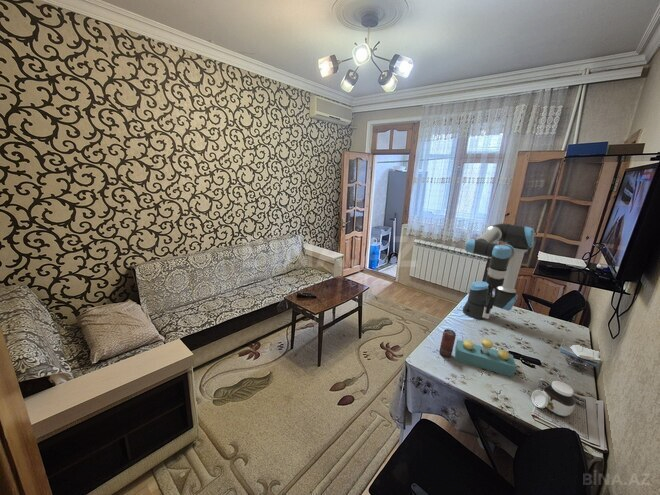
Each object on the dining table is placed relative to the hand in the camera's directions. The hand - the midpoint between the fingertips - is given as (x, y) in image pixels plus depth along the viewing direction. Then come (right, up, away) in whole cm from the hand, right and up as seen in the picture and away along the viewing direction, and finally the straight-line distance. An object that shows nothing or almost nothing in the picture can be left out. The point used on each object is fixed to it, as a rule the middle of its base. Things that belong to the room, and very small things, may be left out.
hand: (485, 317), depth 139 cm
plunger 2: (+5, -23, -4) cm, 24 cm away
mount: (-2, -23, 0) cm, 23 cm away
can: (-20, -21, +4) cm, 29 cm away
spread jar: (+12, -32, -26) cm, 43 cm away
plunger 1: (-9, -21, +2) cm, 23 cm away
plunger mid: (-2, -18, -2) cm, 19 cm away
